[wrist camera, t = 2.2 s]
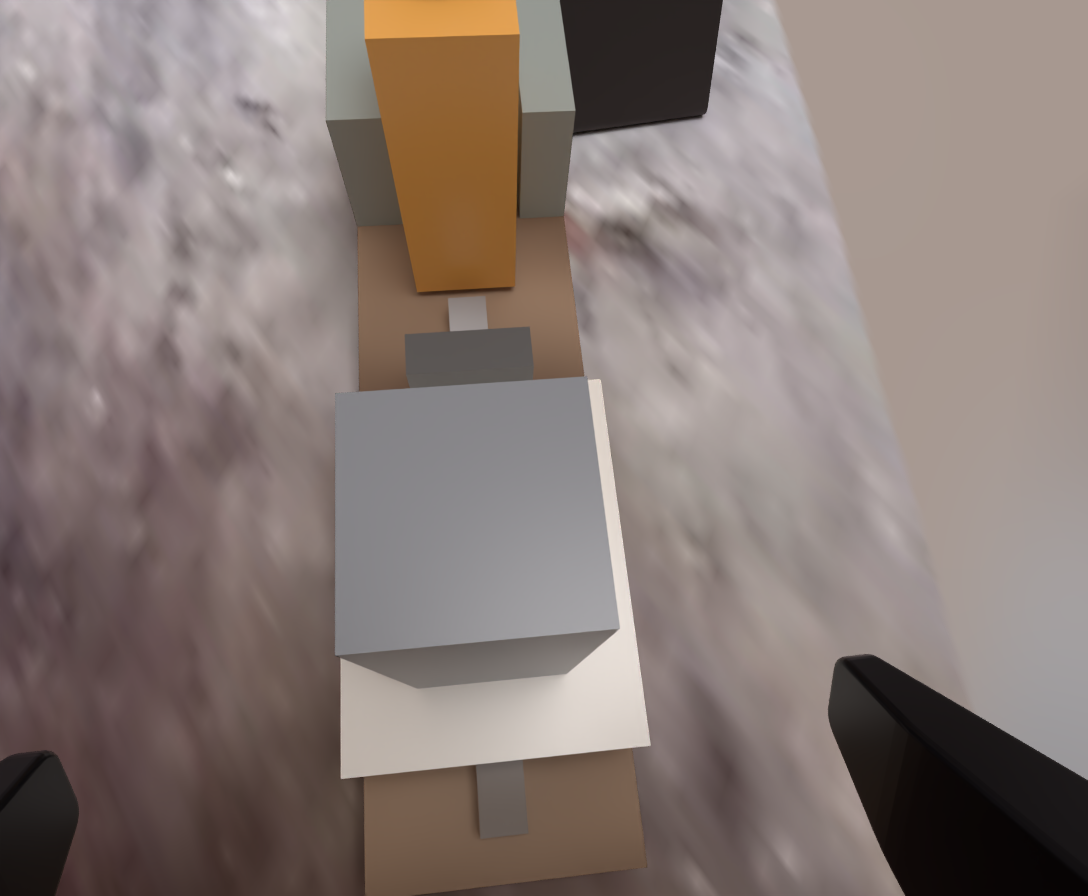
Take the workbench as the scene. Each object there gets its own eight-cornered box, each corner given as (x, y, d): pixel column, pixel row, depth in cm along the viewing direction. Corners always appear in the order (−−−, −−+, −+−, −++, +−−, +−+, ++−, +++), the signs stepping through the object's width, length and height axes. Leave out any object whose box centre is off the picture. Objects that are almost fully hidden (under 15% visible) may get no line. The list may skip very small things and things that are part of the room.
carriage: (638, 744, 16) (785, 765, 7) (355, 774, 15) (175, 833, 7) (589, 369, 19) (654, 87, 11) (352, 385, 19) (225, 102, 10)
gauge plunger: (514, 286, 20) (520, -9, 12) (417, 292, 20) (355, -5, 12) (503, 170, 22) (501, -164, 14) (411, 174, 22) (354, -162, 13)
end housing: (563, 216, 22) (575, 110, 18) (357, 226, 21) (325, 120, 18) (550, 111, 23) (558, -8, 19) (356, 118, 23) (326, -2, 19)
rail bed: (636, 855, 17) (653, 873, 15) (376, 886, 17) (358, 909, 15) (547, 145, 25) (551, 93, 22) (365, 153, 24) (351, 100, 22)
